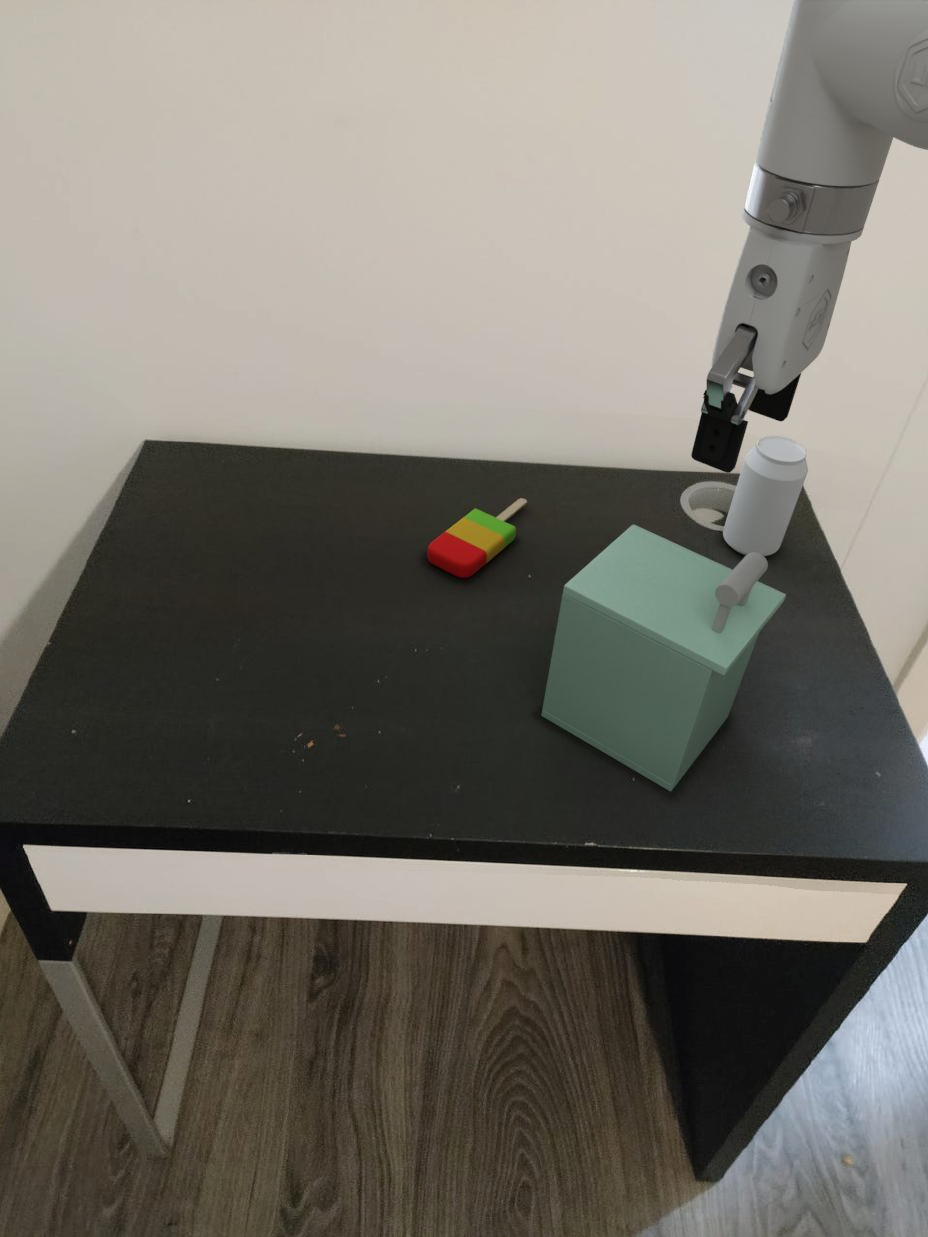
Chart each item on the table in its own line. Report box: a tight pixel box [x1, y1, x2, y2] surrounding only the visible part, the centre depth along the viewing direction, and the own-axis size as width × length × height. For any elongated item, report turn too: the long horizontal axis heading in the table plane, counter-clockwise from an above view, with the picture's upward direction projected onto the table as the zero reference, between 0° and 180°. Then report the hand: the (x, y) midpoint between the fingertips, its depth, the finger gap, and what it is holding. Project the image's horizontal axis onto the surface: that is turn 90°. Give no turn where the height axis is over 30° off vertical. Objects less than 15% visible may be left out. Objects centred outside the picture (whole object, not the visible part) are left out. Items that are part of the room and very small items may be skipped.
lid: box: [562, 523, 787, 675], centre depth 69 cm, size 14×11×5 cm
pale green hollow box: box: [540, 592, 760, 792], centre depth 76 cm, size 13×11×14 cm
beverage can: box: [722, 435, 809, 557], centre depth 96 cm, size 6×6×12 cm
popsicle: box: [426, 497, 528, 579], centre depth 98 cm, size 6×15×2 cm, turn 145°
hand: (740, 438), depth 70 cm, fingers open, 9 cm apart
